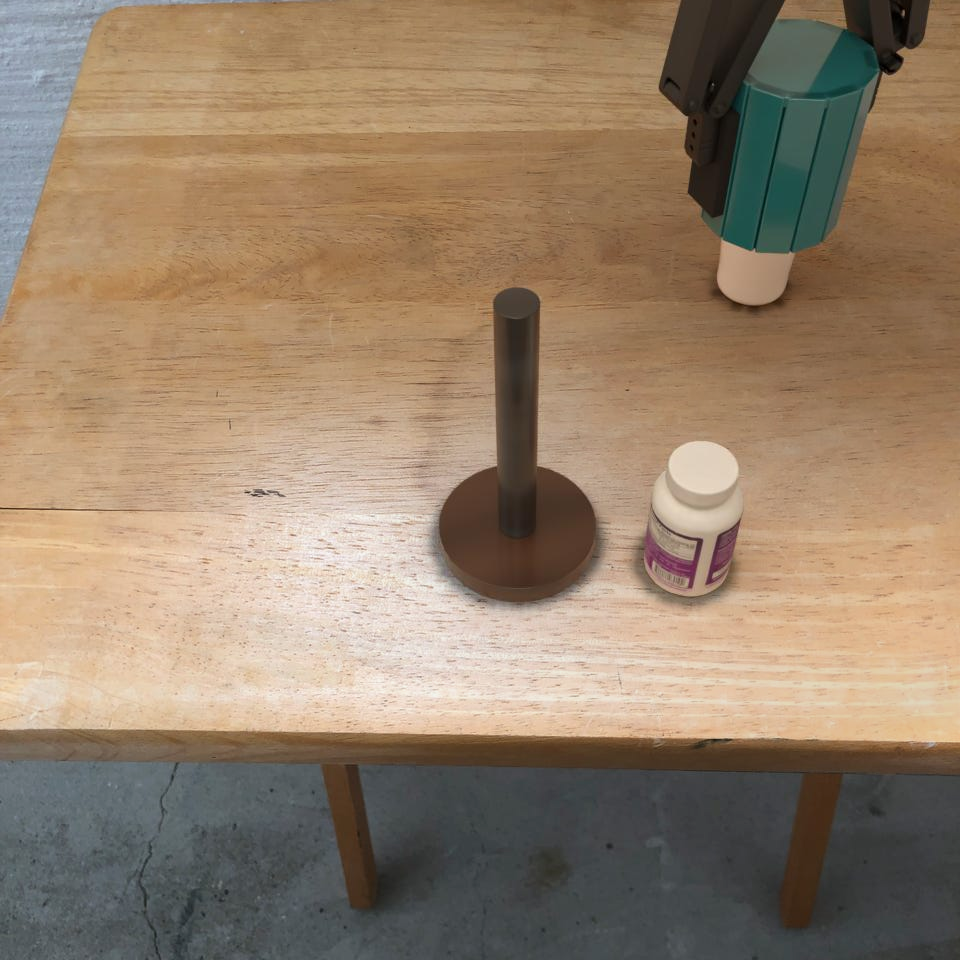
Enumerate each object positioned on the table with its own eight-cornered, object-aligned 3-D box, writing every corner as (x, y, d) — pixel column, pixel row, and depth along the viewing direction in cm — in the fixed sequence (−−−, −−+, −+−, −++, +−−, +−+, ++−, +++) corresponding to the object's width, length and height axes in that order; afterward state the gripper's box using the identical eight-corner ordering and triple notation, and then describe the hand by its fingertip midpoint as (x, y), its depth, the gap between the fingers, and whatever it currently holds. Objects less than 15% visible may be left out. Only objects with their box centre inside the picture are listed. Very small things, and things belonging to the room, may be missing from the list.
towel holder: (623, 566, 69) (652, 332, 54) (479, 625, 67) (466, 398, 52) (551, 458, 75) (559, 219, 60) (416, 509, 73) (388, 273, 57)
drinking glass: (794, 262, 88) (836, 91, 76) (794, 319, 83) (838, 147, 72) (708, 254, 89) (736, 84, 77) (704, 310, 84) (733, 139, 73)
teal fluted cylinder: (863, 229, 65) (910, 75, 57) (747, 269, 63) (780, 115, 55) (785, 157, 70) (819, 5, 62) (675, 192, 68) (696, 39, 60)
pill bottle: (707, 522, 71) (729, 421, 64) (741, 587, 68) (769, 489, 61) (629, 541, 71) (642, 442, 63) (660, 608, 67) (677, 512, 60)
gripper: (993, -323, 52) (873, 106, 70) (606, -244, 47) (582, 197, 65) (1112, -275, 48) (952, 169, 65) (699, -183, 43) (646, 272, 60)
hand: (768, 182), depth 65 cm, fingers closed on teal fluted cylinder, 8 cm apart
